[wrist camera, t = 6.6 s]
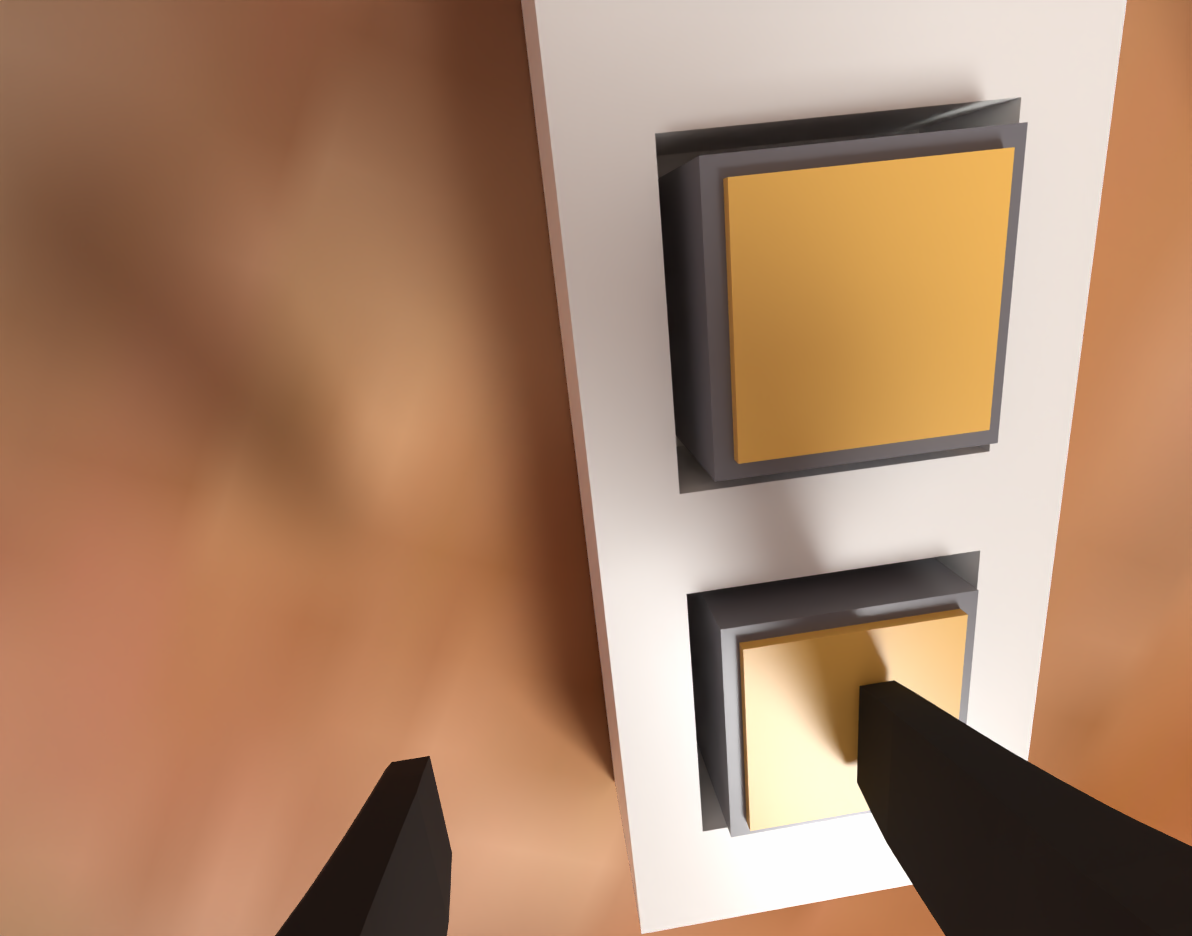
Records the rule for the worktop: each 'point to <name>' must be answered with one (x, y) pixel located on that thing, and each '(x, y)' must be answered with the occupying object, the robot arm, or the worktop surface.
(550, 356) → the worktop surface
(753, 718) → the button
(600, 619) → the switch strip
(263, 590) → the worktop surface
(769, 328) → the button middle
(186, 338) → the worktop surface
